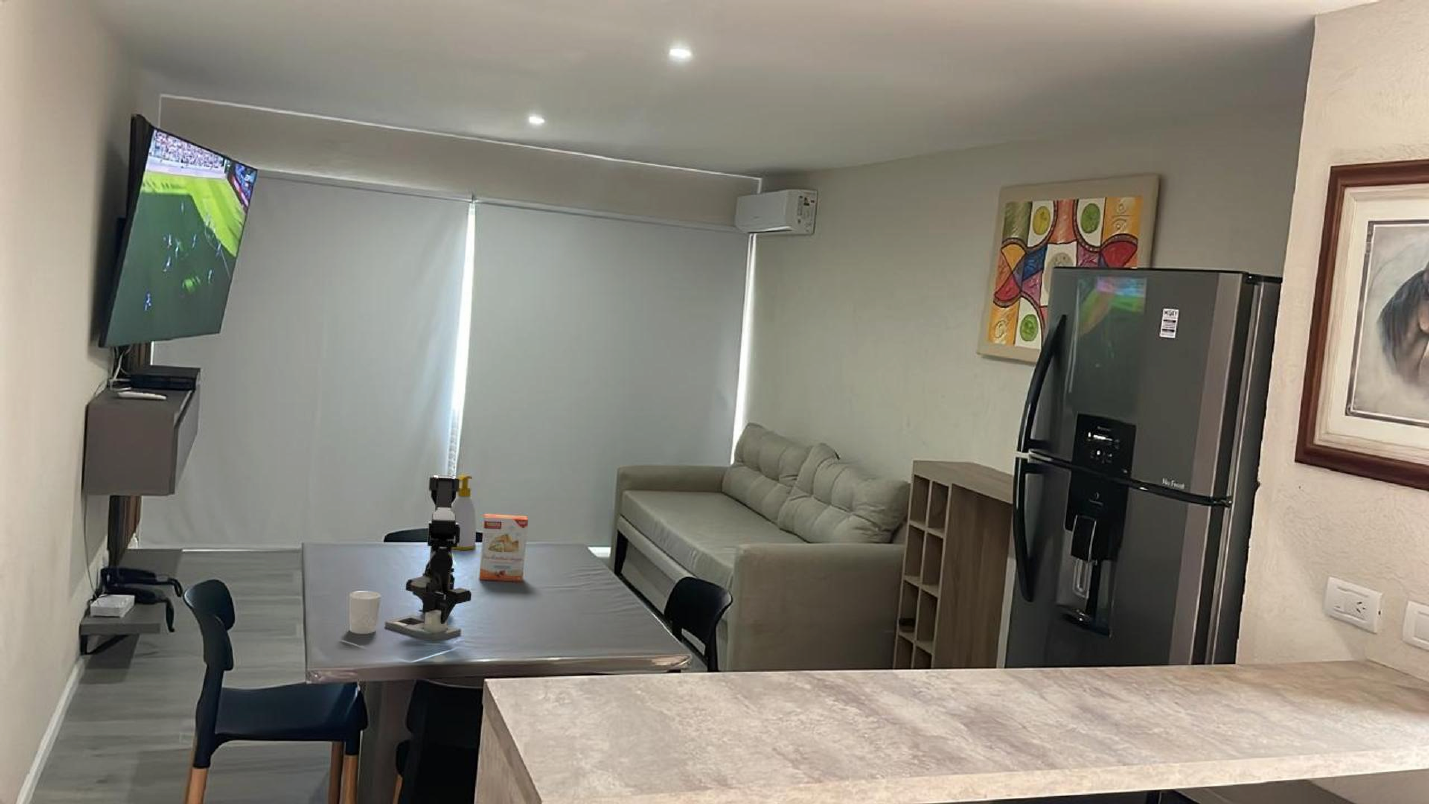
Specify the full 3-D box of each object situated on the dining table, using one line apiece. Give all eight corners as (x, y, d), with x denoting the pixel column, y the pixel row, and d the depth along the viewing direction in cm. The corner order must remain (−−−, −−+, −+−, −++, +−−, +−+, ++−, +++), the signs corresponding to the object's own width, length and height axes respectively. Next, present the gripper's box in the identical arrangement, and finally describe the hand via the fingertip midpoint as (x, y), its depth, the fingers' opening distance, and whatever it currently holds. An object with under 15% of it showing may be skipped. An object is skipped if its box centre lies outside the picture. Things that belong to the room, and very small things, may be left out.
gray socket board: (411, 621, 315) (412, 613, 315) (460, 636, 306) (461, 628, 306) (384, 628, 306) (385, 620, 306) (434, 644, 297) (434, 635, 297)
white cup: (368, 637, 297) (371, 600, 297) (341, 633, 299) (344, 596, 298) (383, 630, 305) (386, 593, 304) (356, 625, 307) (359, 589, 306)
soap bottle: (438, 548, 404) (444, 475, 402) (451, 542, 416) (456, 471, 413) (468, 552, 402) (474, 479, 400) (480, 546, 414) (486, 475, 412)
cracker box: (479, 580, 366) (484, 516, 364) (479, 575, 371) (484, 513, 370) (523, 582, 368) (528, 519, 367) (522, 577, 374) (527, 515, 373)
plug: (434, 631, 307) (436, 609, 306) (445, 634, 305) (447, 612, 304) (421, 634, 302) (423, 613, 302) (432, 638, 300) (434, 616, 300)
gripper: (392, 562, 300) (388, 619, 301) (445, 576, 291) (440, 635, 292) (422, 556, 310) (418, 612, 311) (474, 569, 300) (470, 627, 302)
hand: (435, 621), depth 304 cm, fingers open, 5 cm apart
